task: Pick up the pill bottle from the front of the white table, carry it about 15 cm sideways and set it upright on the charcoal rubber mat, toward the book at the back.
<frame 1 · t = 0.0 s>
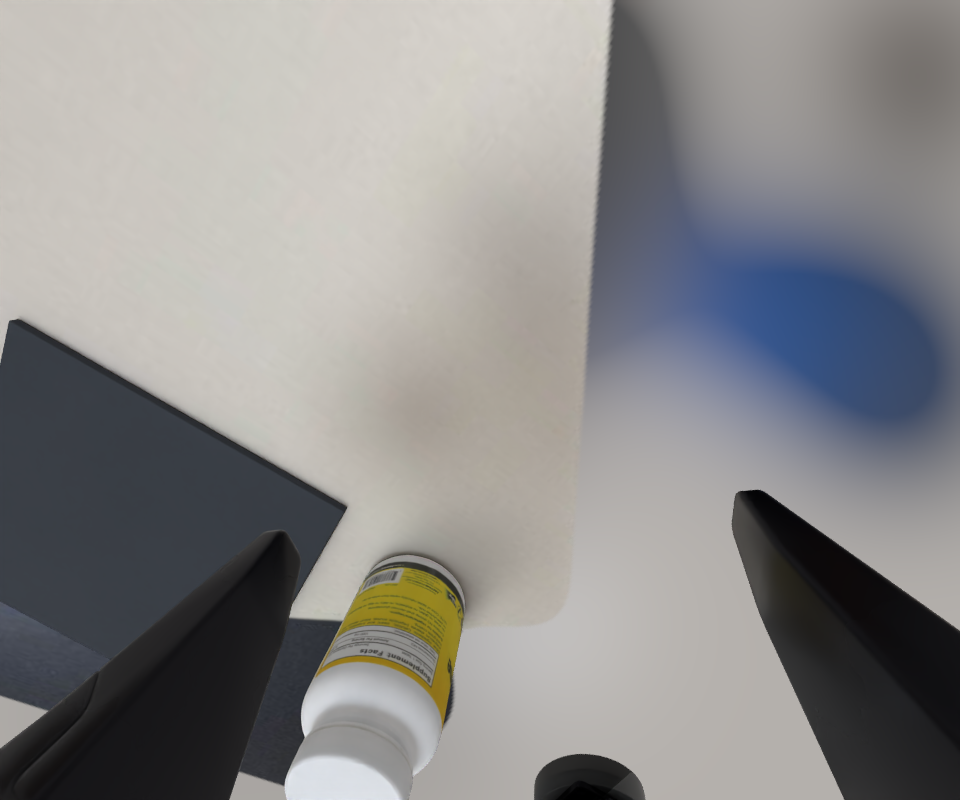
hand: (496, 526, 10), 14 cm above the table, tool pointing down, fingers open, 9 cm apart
left mat: (138, 543, 30), on the table
pill bottle: (416, 592, 28), on the table
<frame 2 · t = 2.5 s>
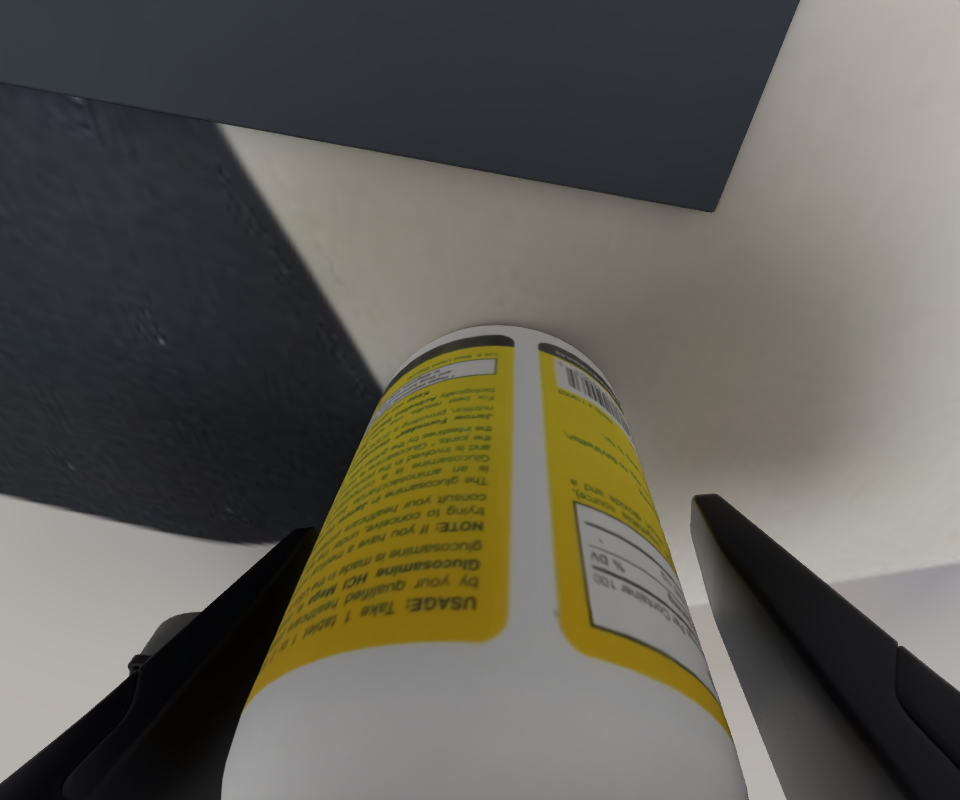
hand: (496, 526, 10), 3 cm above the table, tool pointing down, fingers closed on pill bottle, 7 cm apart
pill bottle: (500, 423, 13), on the table, touching gripper
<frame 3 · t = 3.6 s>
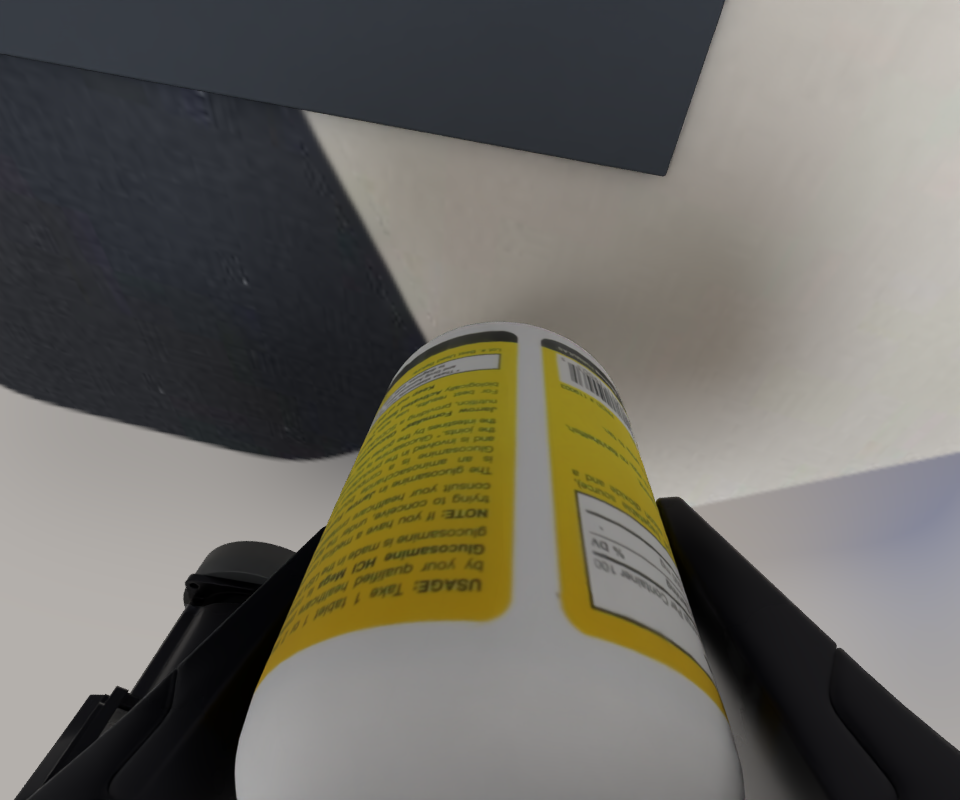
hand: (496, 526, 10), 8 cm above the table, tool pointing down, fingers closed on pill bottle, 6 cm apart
pill bottle: (503, 418, 13), point 4 cm above the table, touching gripper
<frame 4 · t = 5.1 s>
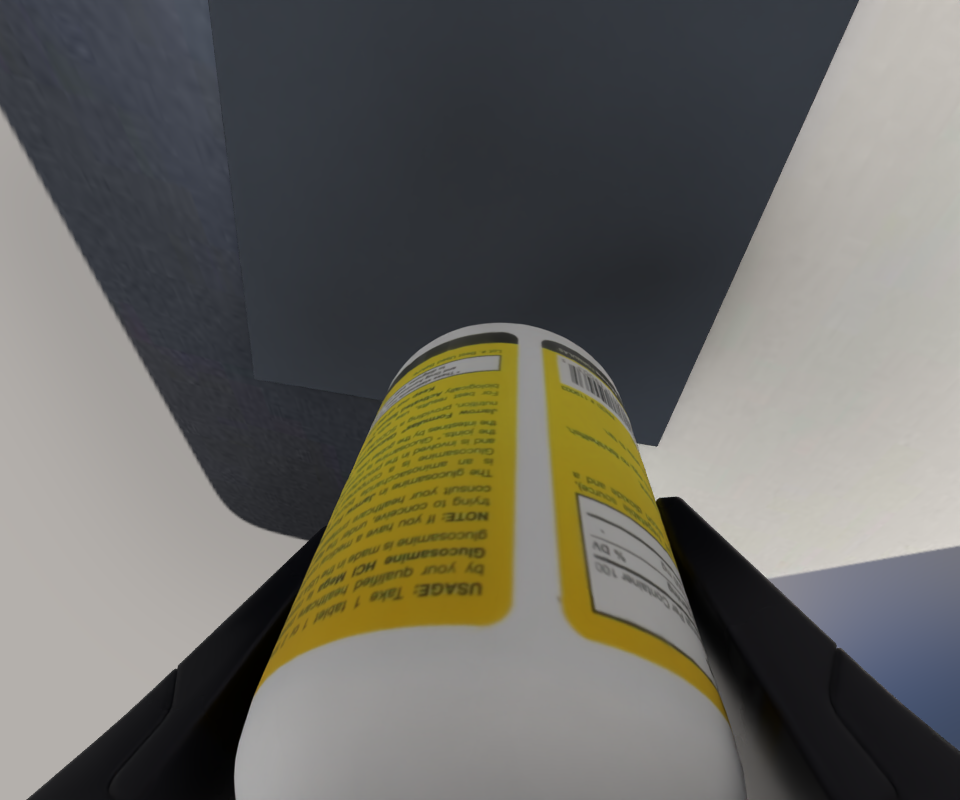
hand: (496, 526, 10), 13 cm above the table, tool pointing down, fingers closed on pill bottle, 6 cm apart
left mat: (491, 195, 19), on the table
pill bottle: (503, 419, 13), point 9 cm above the table, touching gripper
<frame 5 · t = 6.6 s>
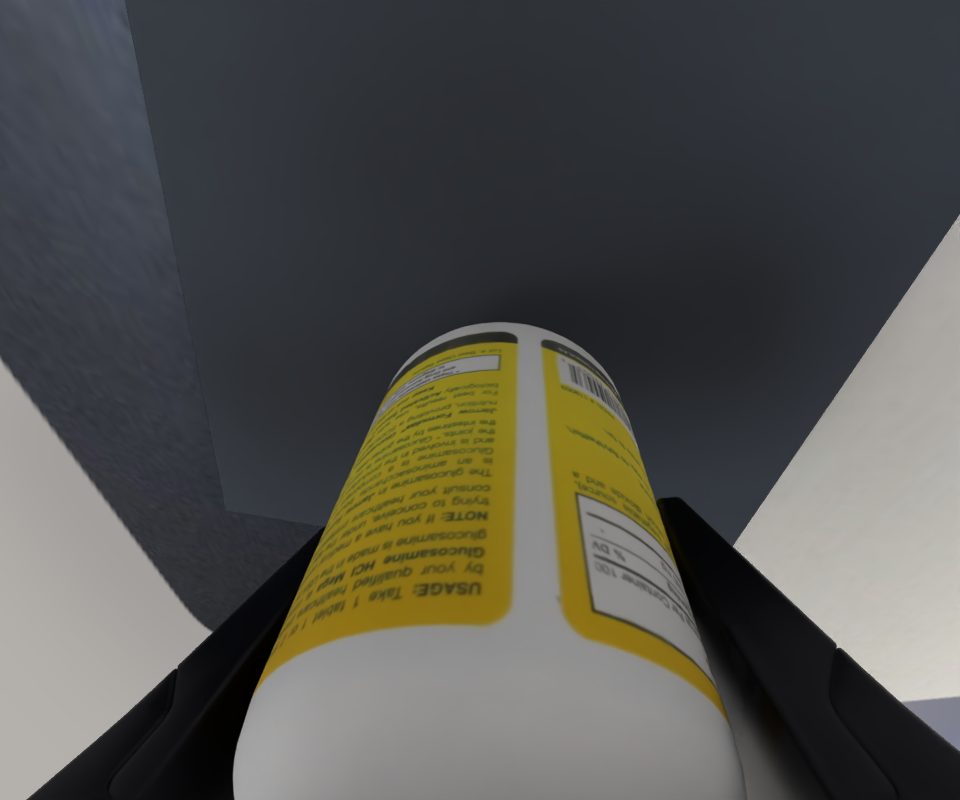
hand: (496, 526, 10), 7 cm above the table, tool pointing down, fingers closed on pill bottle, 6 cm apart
left mat: (513, 327, 15), on the table
pill bottle: (502, 419, 13), point 3 cm above the table, touching gripper
when the fingers open (4 cm above the table, at t = 7.9 s): pill bottle stays where it is, resting on left mat.
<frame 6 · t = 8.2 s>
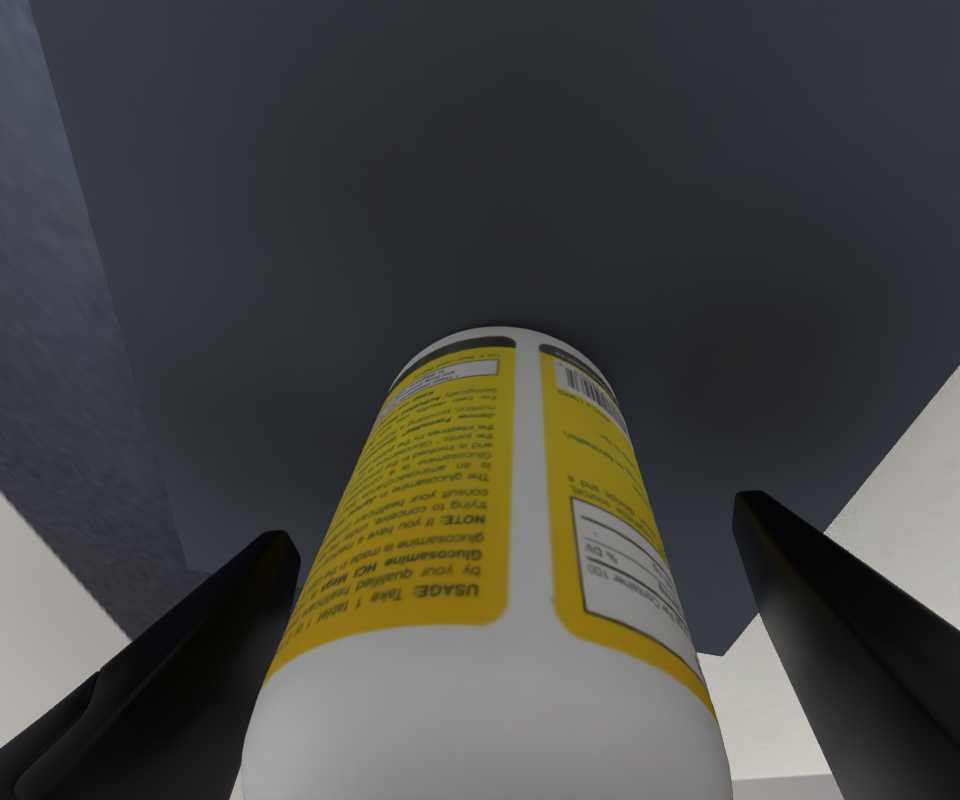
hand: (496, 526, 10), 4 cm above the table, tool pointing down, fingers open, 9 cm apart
left mat: (510, 376, 13), on the table
pill bottle: (501, 420, 13), resting on left mat
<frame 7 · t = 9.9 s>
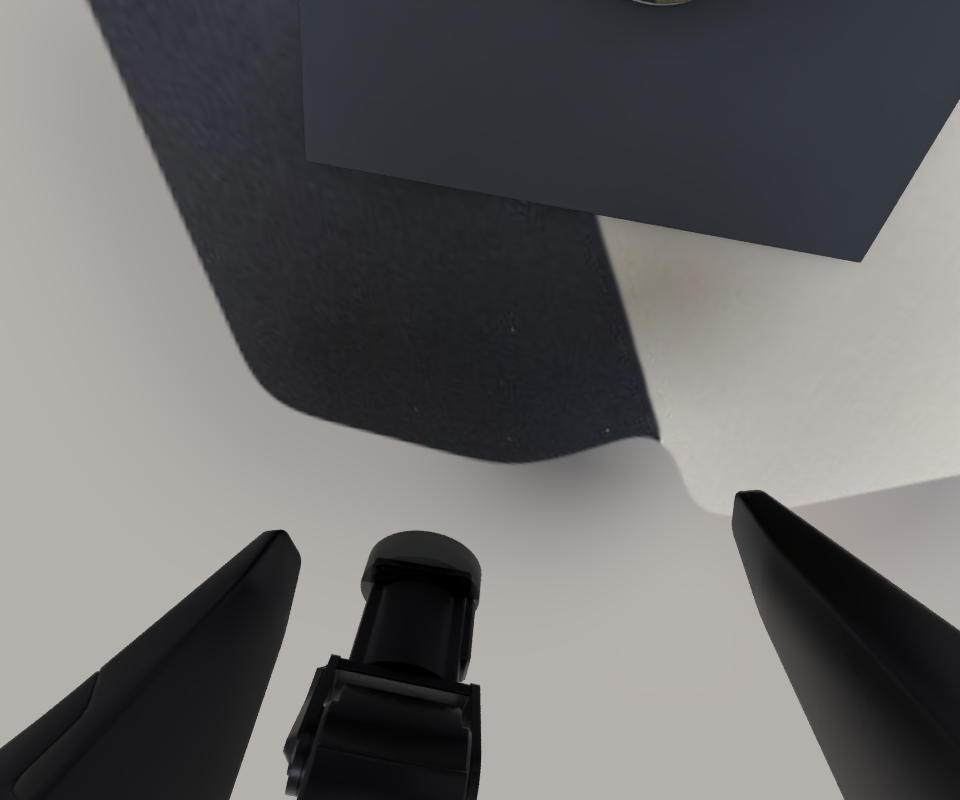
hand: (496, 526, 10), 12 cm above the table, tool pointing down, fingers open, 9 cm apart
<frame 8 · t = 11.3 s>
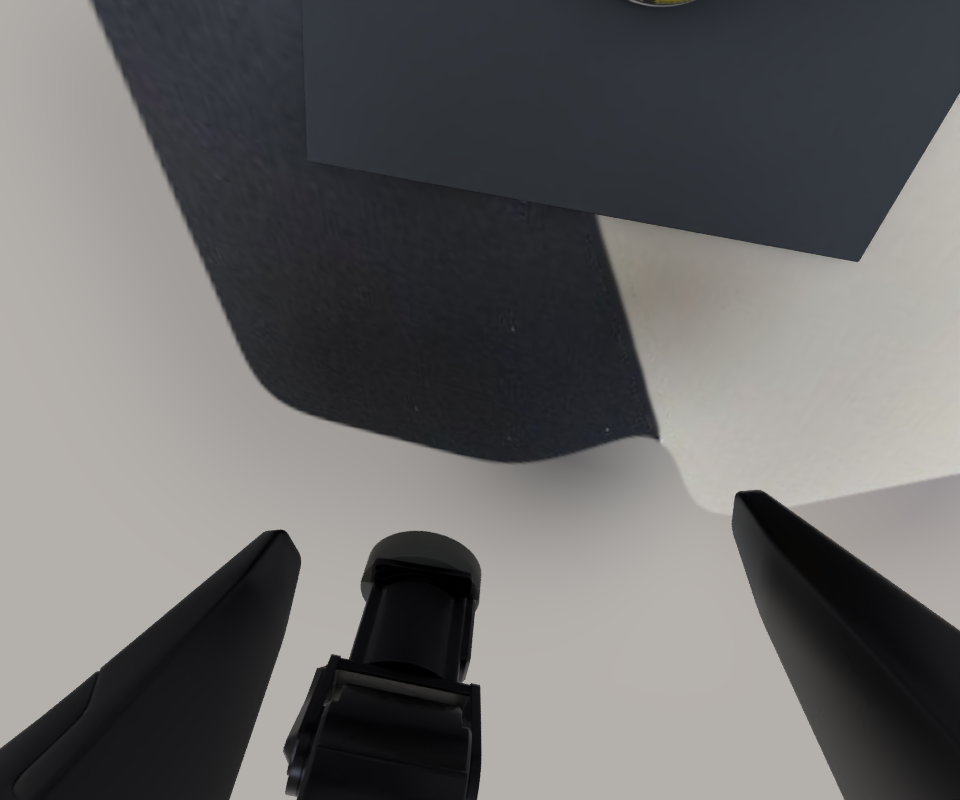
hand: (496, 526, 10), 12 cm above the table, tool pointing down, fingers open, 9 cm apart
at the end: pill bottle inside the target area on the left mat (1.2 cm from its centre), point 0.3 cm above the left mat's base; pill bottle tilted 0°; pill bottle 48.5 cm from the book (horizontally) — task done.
